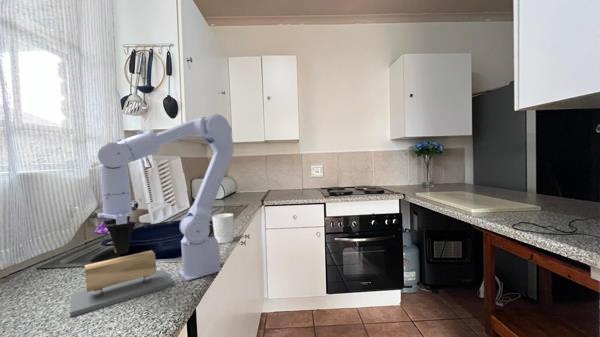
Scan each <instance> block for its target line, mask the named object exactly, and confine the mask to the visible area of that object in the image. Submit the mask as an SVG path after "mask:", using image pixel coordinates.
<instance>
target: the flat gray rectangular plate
mask: <svg viewBox="0 0 600 337" xmlns="http://www.w3.org/2000/svg"><path fill="white" fill-rule="evenodd" d="M174 286H175V283H174V280H173V279H172V278H171V277H170V275H169V274H168V273H167V271H166V270H165V269H163V268H162V269H159V270H156V273H155V274H152V275H148V276H144V277H141V278H137V279H134V280H130V281H126V282H123V283H119V284H115V285H112V286H108V287H104V288H101V289H97V290H93V291H90V292H87V289H85V290H81V291H77V292H73V293H71V295H70V308H69V309H70V310H69V315H70V317H69V318H73V317H76V316H79V315H82V314H86V313H89V312H92V311H95V310H99V309H101V308H104V307H109V306H111V305H114V304H118V303H122V302H125V301H127V300H128V301H129V300H131V299H133V298H137V297H140V296H143V295H144V296H145V295H147V294H151V293H154V292H157V291H160V290H163V289H167V288H169V287H174Z"/></svg>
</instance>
